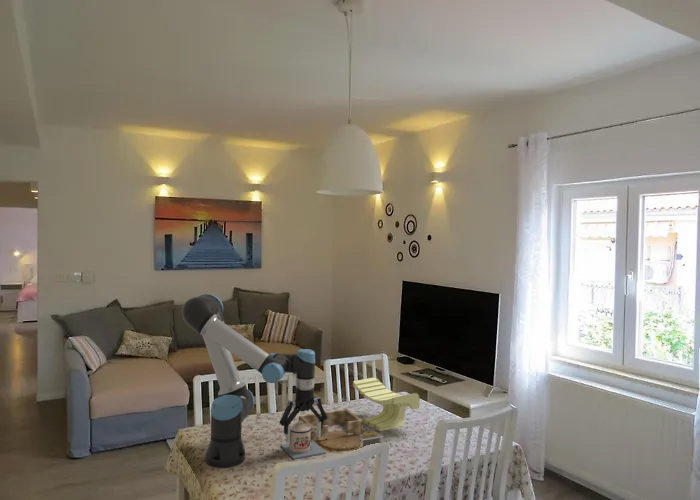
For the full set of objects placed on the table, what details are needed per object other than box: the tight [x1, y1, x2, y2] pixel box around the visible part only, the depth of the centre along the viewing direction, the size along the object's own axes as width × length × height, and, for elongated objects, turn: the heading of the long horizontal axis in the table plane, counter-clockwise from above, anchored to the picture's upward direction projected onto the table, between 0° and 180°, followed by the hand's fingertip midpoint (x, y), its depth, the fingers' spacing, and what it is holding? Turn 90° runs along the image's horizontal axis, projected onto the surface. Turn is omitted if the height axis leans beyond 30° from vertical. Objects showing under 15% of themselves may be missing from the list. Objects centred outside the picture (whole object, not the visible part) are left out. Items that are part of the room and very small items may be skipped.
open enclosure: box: [298, 408, 364, 443], centre depth 231 cm, size 24×16×6 cm
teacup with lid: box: [288, 419, 317, 453], centre depth 210 cm, size 12×9×12 cm
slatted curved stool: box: [352, 377, 421, 432], centre depth 243 cm, size 30×16×18 cm, turn 37°
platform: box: [360, 430, 384, 448], centre depth 215 cm, size 12×18×7 cm, turn 115°
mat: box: [280, 441, 327, 461], centre depth 210 cm, size 14×14×1 cm
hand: (303, 439), depth 210 cm, fingers open, 13 cm apart
